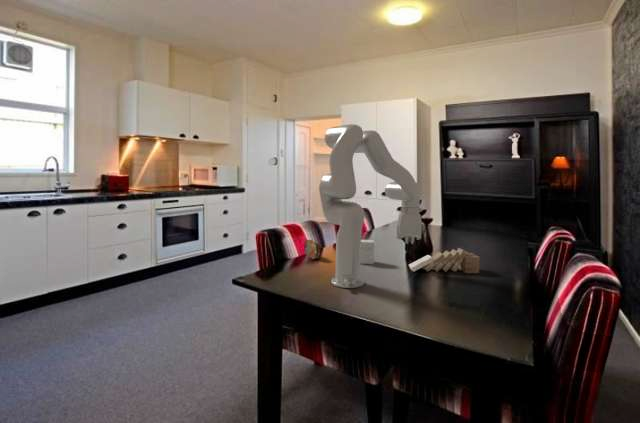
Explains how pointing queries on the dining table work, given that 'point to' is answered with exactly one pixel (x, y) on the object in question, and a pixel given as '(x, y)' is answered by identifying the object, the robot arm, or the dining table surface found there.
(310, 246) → the tin
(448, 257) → the domino
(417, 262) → the domino
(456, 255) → the domino
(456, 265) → the domino
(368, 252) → the small box
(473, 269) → the end block
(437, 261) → the domino
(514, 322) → the dining table surface
